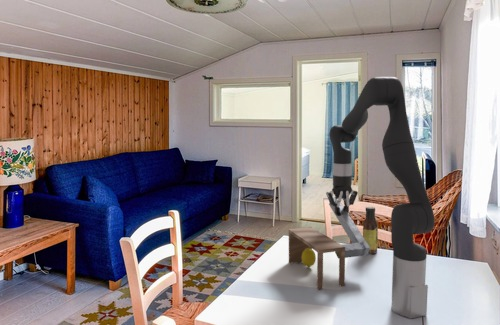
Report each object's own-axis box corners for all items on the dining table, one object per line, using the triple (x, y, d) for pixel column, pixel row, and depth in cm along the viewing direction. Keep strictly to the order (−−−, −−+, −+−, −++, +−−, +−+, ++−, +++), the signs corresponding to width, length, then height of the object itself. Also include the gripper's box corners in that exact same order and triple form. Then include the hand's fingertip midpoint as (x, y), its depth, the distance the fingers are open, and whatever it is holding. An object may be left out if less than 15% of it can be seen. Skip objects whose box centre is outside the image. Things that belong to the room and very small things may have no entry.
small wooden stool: (344, 285, 131) (345, 246, 130) (319, 289, 128) (319, 250, 127) (310, 259, 156) (310, 226, 154) (288, 262, 153) (288, 229, 151)
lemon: (315, 264, 150) (315, 245, 150) (316, 270, 145) (316, 250, 144) (301, 264, 151) (301, 245, 150) (301, 270, 146) (301, 250, 145)
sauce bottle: (379, 254, 161) (380, 209, 159) (364, 254, 162) (365, 209, 159) (374, 249, 168) (375, 205, 166) (360, 249, 168) (361, 206, 166)
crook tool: (335, 204, 163) (337, 197, 161) (367, 255, 140) (370, 247, 138) (310, 206, 160) (311, 198, 158) (338, 258, 137) (340, 251, 135)
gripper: (330, 176, 147) (330, 218, 149) (362, 174, 151) (361, 216, 153) (322, 173, 155) (322, 214, 157) (352, 172, 158) (352, 212, 160)
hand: (341, 215), depth 155 cm, fingers closed on crook tool, 3 cm apart
